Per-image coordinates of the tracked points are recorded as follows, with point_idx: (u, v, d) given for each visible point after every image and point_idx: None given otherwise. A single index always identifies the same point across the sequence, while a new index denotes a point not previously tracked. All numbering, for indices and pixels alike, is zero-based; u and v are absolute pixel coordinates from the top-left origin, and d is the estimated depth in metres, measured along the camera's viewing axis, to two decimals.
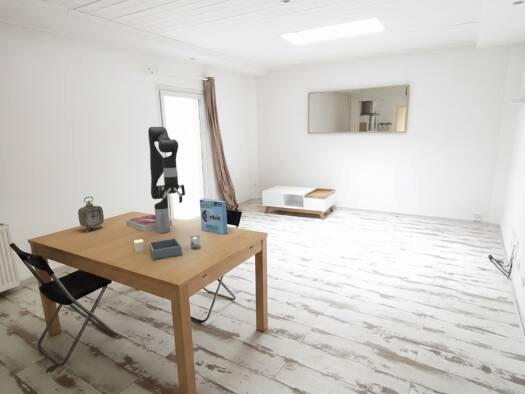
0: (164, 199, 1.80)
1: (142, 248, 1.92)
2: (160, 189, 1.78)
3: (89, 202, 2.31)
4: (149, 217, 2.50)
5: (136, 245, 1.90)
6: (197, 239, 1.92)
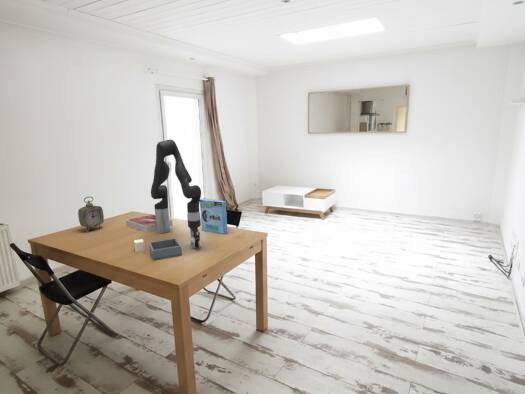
0: (198, 242, 1.92)
1: (142, 248, 1.92)
2: None
3: (89, 202, 2.31)
4: (149, 217, 2.50)
5: (136, 245, 1.90)
6: None
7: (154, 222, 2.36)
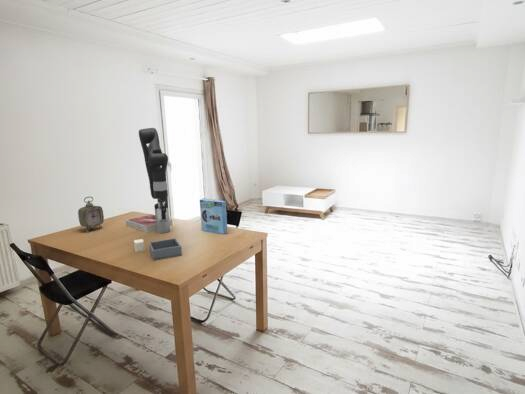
0: (165, 213, 1.80)
1: (142, 248, 1.92)
2: None
3: (89, 202, 2.31)
4: (149, 217, 2.50)
5: (136, 245, 1.90)
6: None
7: (154, 222, 2.36)
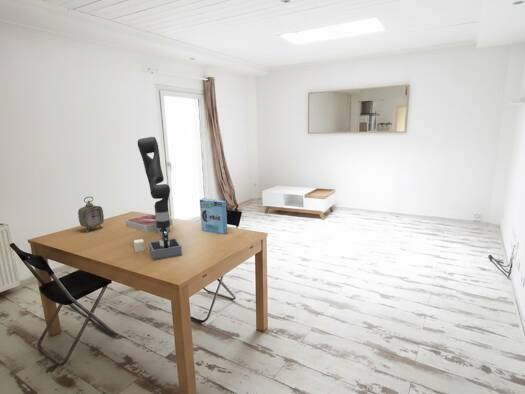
0: (167, 242, 1.83)
1: (142, 248, 1.92)
2: (167, 233, 1.80)
3: (89, 202, 2.31)
4: (148, 217, 2.50)
5: (136, 245, 1.90)
6: None
7: (155, 222, 2.37)
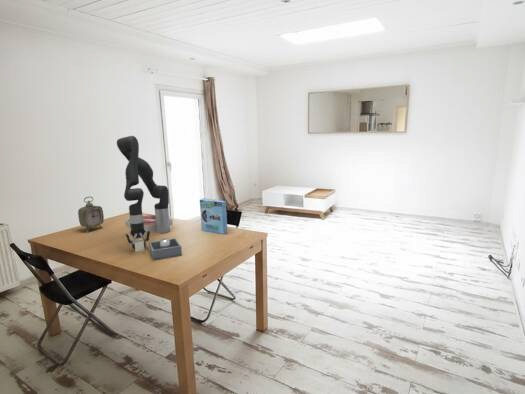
0: None
1: (142, 248, 1.92)
2: None
3: (89, 202, 2.31)
4: (148, 217, 2.50)
5: (136, 245, 1.90)
6: (166, 242, 1.85)
7: (155, 222, 2.37)
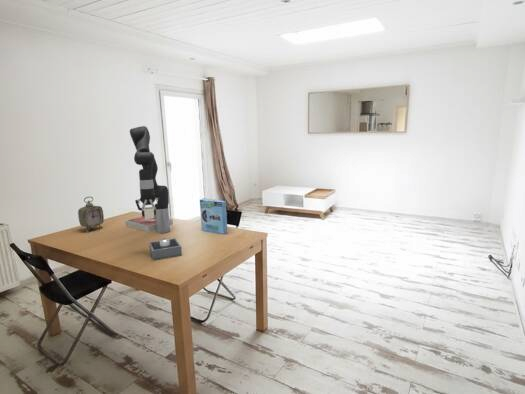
0: None
1: (152, 215, 1.83)
2: None
3: (89, 202, 2.31)
4: None
5: (146, 212, 1.82)
6: (167, 242, 1.85)
7: (155, 222, 2.37)
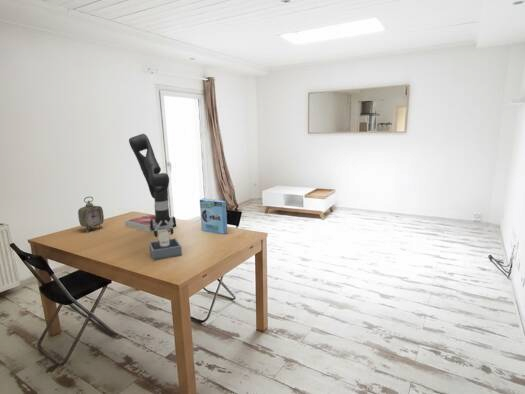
0: None
1: (166, 239, 1.84)
2: None
3: (89, 202, 2.31)
4: (148, 217, 2.50)
5: (160, 235, 1.82)
6: (167, 242, 1.85)
7: (155, 222, 2.37)
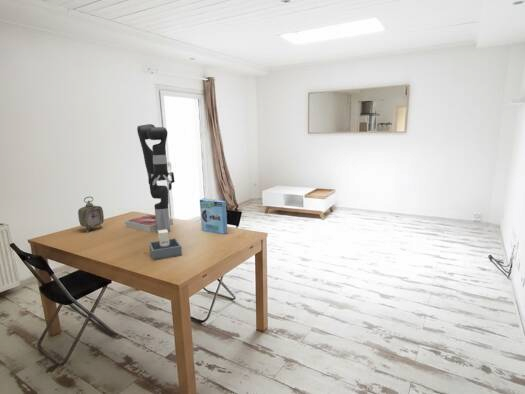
0: None
1: (167, 239, 1.84)
2: None
3: (89, 202, 2.31)
4: (148, 217, 2.50)
5: (160, 235, 1.82)
6: (167, 242, 1.85)
7: None
